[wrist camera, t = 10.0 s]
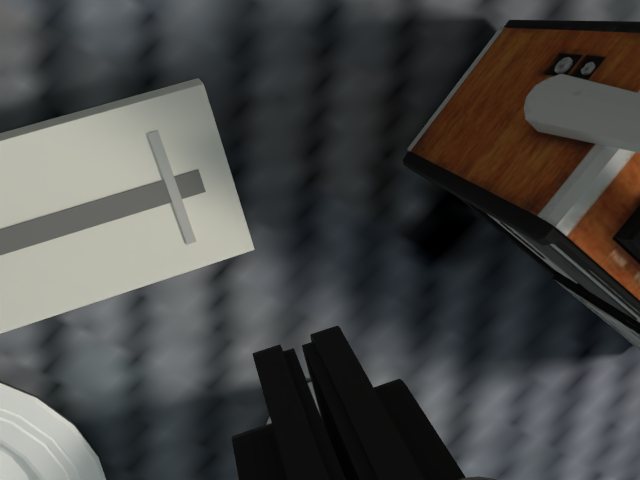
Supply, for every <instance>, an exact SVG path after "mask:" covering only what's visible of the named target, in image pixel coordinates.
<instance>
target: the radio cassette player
mask: <svg viewBox="0 0 640 480" xmlns="http://www.w3.org/2000/svg"><path fill="white" fill-rule="evenodd" d="M407 150H408V153H407V154H406V156H405V157H404V159H403V164H404V165H405V166H406V167H408V168H409V169H411V170H412V171H414V172H416V173H418V174H419V175H421V176H423V177H424V178H426V179H428V180H430V181H431V182H433V183H435V184H437V185H438V186H440V187H442V188H443V189H445V190H447V191H449V192H450V193H452V194H454V195H456V196H457V197H458V198H459V199H461V200H462V201H463V202H464V203H465V204H467V205H468V206H469V207H470V208H472V209H473V210H474V211H475V212H476V213H478V214H479V215H480V216H481V217H483V218H484V219H485V220H486V221H487V222H489V223H490V224H491V225H492V226H494V227H495V228H496V229H497V230H498V231H500V232H501V233H502V234H503V235H505V236H506V237H507V238H508V239H509V240H511V241H512V242H513V243H514V244H516V245H517V246H518V247H519V248H521V249H522V250H523V251H524V252H525V253H527V254H528V255H529V256H530V257H532V258H533V259H534V260H535V261H536V262H538V263H539V264H540V265H541V266H543V267H544V268H545V269H546V270H547V271H549V272H550V273H551V274H552V275H554V277H553V279H554V280H555V281H556V282H557V283H559V284H560V285H561V286H562V287H563V288H565V289H566V290H567V291H568V292H570V293H571V294H572V295H573V296H574V297H576V298H577V299H578V300H579V301H581V302H582V303H583V304H584V305H585V306H587V307H588V308H589V309H590V310H592V311H593V312H594V313H596V315H598V316H599V317H600V318H601V319H603V320H604V321H605V322H606V323H607V324H609V325H610V326H611V327H612V328H614V329H615V330H616V331H617V332H618V333H620V334H621V335H622V336H623V337H625V338H626V339H627V340H628V341H629V342H631V343H632V344H633V345H635V346H636V347H637V348H638V349H639V350H640V22H620V21H549V20H509V21H508V22H507V24H506V25H505V26H504V27H500V28H499V29H498V31H497V32H496V33H495V35H494V36H493V37H492V39H491V40H490V41H489V42H488V44H487V45H486V46H485V48H484V49H483V50H482V52H481V53H480V54H479V56H478V57H477V58H476V59H475V61H474V62H473V63H472V65H471V66H470V67H469V69H468V70H467V71H466V73H465V74H464V75H463V76H462V78H461V79H460V80H459V82H458V83H457V84H456V86H455V87H454V88H453V90H452V91H451V92H450V93H449V95H448V96H447V97H446V99H445V100H444V101H443V103H442V104H441V105H440V107H439V108H438V109H437V110H436V112H435V113H434V114H433V116H432V117H431V118H430V120H429V121H428V122H427V124H426V125H425V126H424V127H423V129H422V130H421V131H420V133H419V134H418V135H417V137H416V138H415V139H414V141H413V142H412V143H411V144H410V146H409V147H408V148H407Z"/></svg>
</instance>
